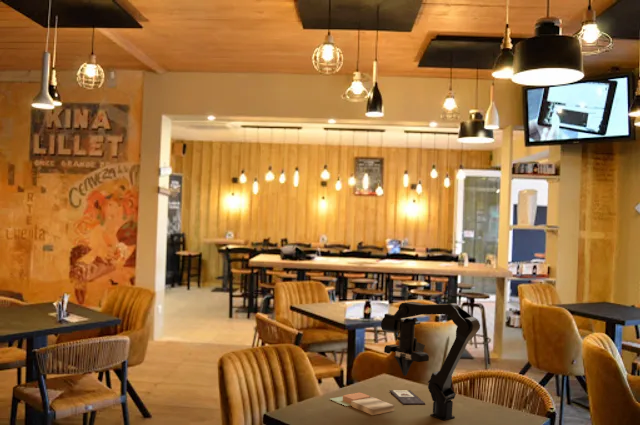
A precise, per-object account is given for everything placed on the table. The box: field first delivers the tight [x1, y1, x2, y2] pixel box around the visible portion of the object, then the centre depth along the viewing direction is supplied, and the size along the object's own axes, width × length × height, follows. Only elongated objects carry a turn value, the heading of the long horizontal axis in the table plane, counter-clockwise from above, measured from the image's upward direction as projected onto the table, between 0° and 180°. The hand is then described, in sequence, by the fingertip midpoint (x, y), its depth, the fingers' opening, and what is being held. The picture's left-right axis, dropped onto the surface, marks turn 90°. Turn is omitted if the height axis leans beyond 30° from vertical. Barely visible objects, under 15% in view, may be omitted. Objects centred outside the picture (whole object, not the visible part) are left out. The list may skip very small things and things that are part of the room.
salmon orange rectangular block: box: [342, 392, 371, 404], centre depth 238 cm, size 6×9×2 cm, turn 128°
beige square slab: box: [350, 396, 395, 416], centre depth 231 cm, size 12×11×2 cm
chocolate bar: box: [389, 389, 426, 406], centre depth 248 cm, size 9×1×18 cm
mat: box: [329, 395, 351, 407], centre depth 240 cm, size 10×15×1 cm, turn 128°
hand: (404, 375), depth 236 cm, fingers closed
